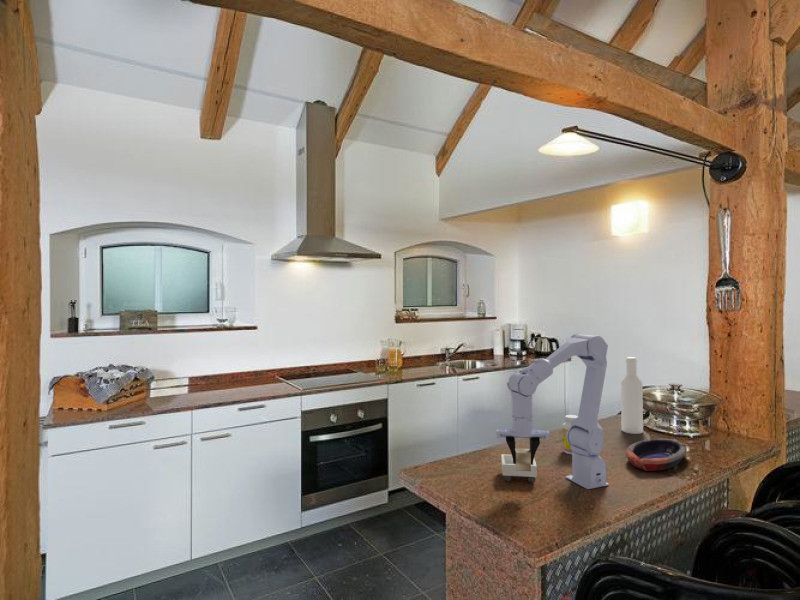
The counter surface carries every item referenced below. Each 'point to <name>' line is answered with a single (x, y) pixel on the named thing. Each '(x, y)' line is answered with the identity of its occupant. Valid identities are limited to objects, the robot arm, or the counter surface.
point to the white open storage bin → (510, 469)
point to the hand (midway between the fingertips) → (522, 463)
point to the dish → (656, 454)
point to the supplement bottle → (566, 427)
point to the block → (523, 459)
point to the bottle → (631, 400)
